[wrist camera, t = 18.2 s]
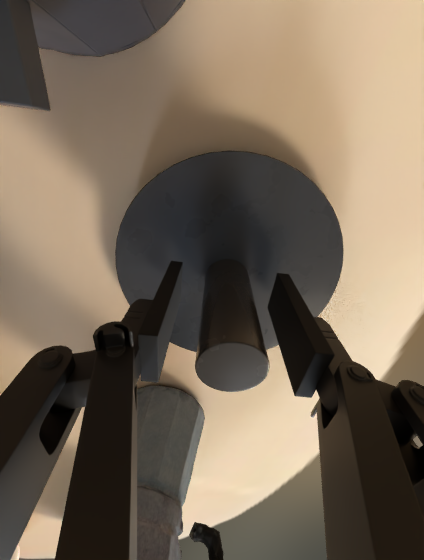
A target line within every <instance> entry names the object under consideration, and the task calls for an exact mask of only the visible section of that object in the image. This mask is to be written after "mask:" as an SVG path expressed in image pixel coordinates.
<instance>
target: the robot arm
mask: <svg viewBox="0 0 424 560" xmlns="http://www.w3.org/2000/svg"><path fill="white" fill-rule="evenodd" d="M182 271H183V262H178V261H171V262H170V264H169V266H168V268H167V270H166V273H165V275H164V277H163V279H162V281H161V284H160V286H159V288H158V290H157V292H156V295H155V297H154V299H153V300H148V299H138V300H136V301H135V302H134V303H132V304H131V306H130V308H129V309H128V312H127V313H126V314H125V317H124V318H123V320H122V321H121V322H110V323H106V324H104V325H102V326H100V327H99V328H98V329H97V330H96V331H95V332H94V334H93V339H94V343H95V348H96V350H93V351H89V352H82V353H76V354H72V350H71V349H69V348H68V347H66V346H52V347H49V348H46V349H44V350H42V351H40V352H38V353H37V354H36V355H35V356H33V357H32V358H31V359H30V360H29V362H28V363H27V364H26V365H25V367H24V368H23V369H22V370H21V371H20V373H19V374H18V375H17V376H16V377H15V379H14V380H13V381H12V382H11V383H10V385H9V386H8V387H7V388H6V390H5V391H4V392H3V393H2V394H1V396H0V560H11V558H12V555H13V553H14V551H15V549H16V547H17V545H18V543H19V541H20V538H21V536H22V534H23V532H24V530H25V528H26V526H27V523H28V521H29V519H30V517H31V515H32V513H33V511H34V509H35V506H36V504H37V502H38V500H39V498H40V496H41V494H42V492H43V489H44V487H45V485H46V483H47V481H48V479H49V477H50V475H51V472H52V470H53V468H54V466H55V464H56V462H57V460H58V457H59V455H60V453H61V451H62V449H63V447H64V445H65V443H66V440H67V438H68V436H69V434H70V432H71V430H72V428H73V426H74V423H75V421H76V419H77V417H78V415H79V413H80V411H81V409H82V407H85V411H84V416H83V421H82V426H81V431H80V436H79V441H78V446H77V451H76V456H75V461H74V466H73V471H72V476H71V481H70V486H69V491H68V496H67V501H66V506H65V511H64V516H63V521H62V526H61V531H60V536H59V541H58V546H57V551H56V556H55V560H137V382H138V379H139V376H140V375H141V381H148V382H159V378H160V374H161V371H162V367H163V363H164V360H165V356H166V352H167V348H168V345H169V341H170V337H171V333H172V330H173V326H174V322H175V319H176V315H177V311H178V307H179V304H180V300H181V290H182ZM267 308H268V311H269V314H270V317H271V321H272V324H273V327H274V330H275V334H276V337H277V340H278V343H279V347H280V350H281V353H282V356H283V359H284V363H285V366H286V369H287V372H288V376H289V379H290V382H291V385H292V389H293V392H294V395H295V396H300V397H310V398H312V396H313V394H314V392H315V390H317V392H318V395H319V397H320V398H319V400H318V402H317V404H316V405H315V407H314V409H313V411H312V412H311V417H314V416H315V414H316V412H317V419H318V434H319V449H320V462H321V477H322V493H323V507H324V522H325V536H326V551H327V560H424V386H422V385H420V384H418V383H416V382H413V381H409V380H402V381H401V382H399V383H398V385H397V386H396V387H395V386H392V385H389V384H387V383H384V382H381V381H378V380H376V379H375V378H374V376H373V374H372V373H371V372H370V371H369V370H368V369H366V368H365V367H364V366H362V365H361V364H358V363H356V362H353V361H352V359H351V358H350V356H349V355H348V353H347V352H346V350H345V348H344V347H343V345H342V344H341V342H340V341H339V340H338V337H337V336H336V334H335V333H334V331H333V330H332V328H331V326H330V325H329V324H328V323H327V322H326V321H325V320H323V319H322V318H320V317H313V315H312V314H311V312H310V310H309V308H308V307H307V305H306V303H305V301H304V300H303V298H302V296H301V294H300V293H299V291H298V289H297V287H296V286H295V284H294V282H293V280H292V279H291V277H290V275H289V274H283V273H277V276H276V279H275V283H274V286H273V289H272V293H271V296H270V300H269V303H268V307H267ZM416 436H418V438H419V439H420V441H421V442H422V444H423V446H421V447H420V448H419V447H418V446H417V445H416V444H415V442H414V441H413V439H414V438H415V437H416Z"/></svg>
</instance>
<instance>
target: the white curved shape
mask: <svg viewBox="0 0 424 560" xmlns="http://www.w3.org/2000/svg"><path fill="white" fill-rule="evenodd" d="M11 560H19V545H17V547H16V549H15V551H14V553H13V555H12V558H11Z"/></svg>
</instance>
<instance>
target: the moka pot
mask: <svg viewBox="0 0 424 560" xmlns="http://www.w3.org/2000/svg"><path fill="white" fill-rule="evenodd" d="M204 419H205V417H204V413H203V409H202V407H201V406H200V404H199V403H198V402H197V401H196V400H195V399H194V398H193V397H191V396H190V395H188V394H186V393H184V392H183V391H181V390H178V389H175V388H171V387H164V386H160V385H159V386H147V387H143V388H140V389H137V560H181V553H182V551H181V550H180V545H179V540H178V536H179V535H180V534H181V533H182V532H183V522H182V506H183V504H184V502H185V498H186V494H187V490H188V486H189V482H190V479H191V475H192V470H193V465H194V461H195V457H196V453H197V449H198V445H199V441H200V437H201V433H202V429H203V424H204ZM189 535H190V537H191V539H192V540H193V541H194V542H202V543H204V544H205V545H206V547H207V548H208V553H209V560H223V550H222V544H221V538H220V532H219V531H217V530H215V529H214V528H210V527H208V526H207V525H205V524H201V523H196V522H195V523H194V525H193V527H192V530H191V532H190V534H189Z"/></svg>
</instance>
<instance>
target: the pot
mask: <svg viewBox="0 0 424 560" xmlns="http://www.w3.org/2000/svg"><path fill="white" fill-rule="evenodd" d="M184 2H185V0H0V105H5V106H13V107H20V108H28V109H36V110H43V111H50V110H51V109H50V104H49V99H48V94H47V89H46V84H45V79H44V74H43V69H42V64H41V58H40V53H39V48H38V47H40V48H42V49H49V50H55V51H59V52H63V53H68V54H72V55H83V56H104V55H106V54H113V53H116V52H119V51H122V50H125V49H128V48H131V47H133V46H135V45H136V44H138V43H140V42H142V41H144V40H145V39H147V38H149V37H150V36H151V35H153V34H154V33H155V32H156V31H157V30H159V29H160V28H161V27H162V26H164V25H165V24H166V23H167V22H168V21H169V19H170V18H171V17H172V16H173V15H174V14H175V13H176V12H177V11H178V10H179V8H180V7H181V6H182V5H183V3H184Z"/></svg>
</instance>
